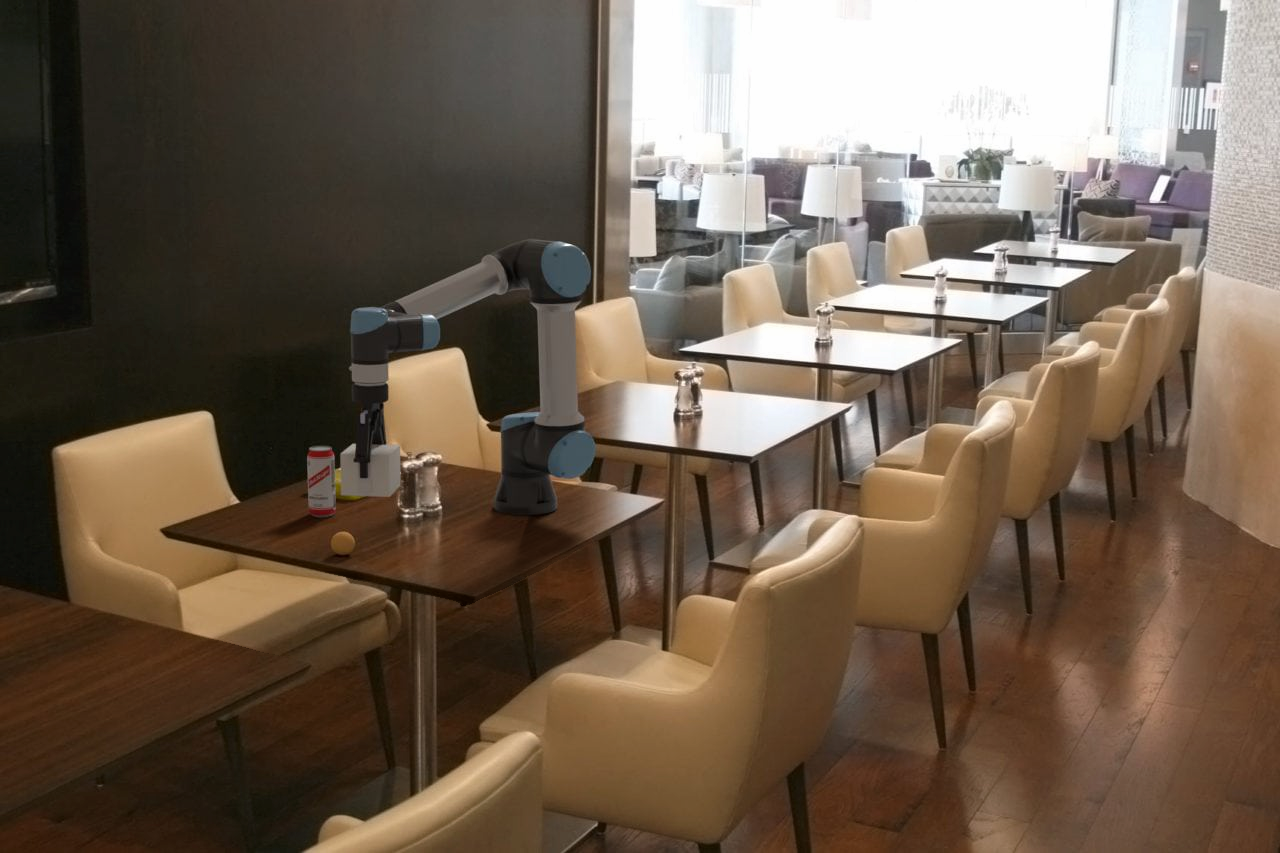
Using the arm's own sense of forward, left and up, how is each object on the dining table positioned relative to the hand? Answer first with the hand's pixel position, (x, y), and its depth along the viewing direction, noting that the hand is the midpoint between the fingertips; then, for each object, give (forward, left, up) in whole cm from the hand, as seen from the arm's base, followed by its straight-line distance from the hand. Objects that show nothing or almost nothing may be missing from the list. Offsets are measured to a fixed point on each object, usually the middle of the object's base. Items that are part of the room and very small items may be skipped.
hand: (371, 486), depth 315 cm
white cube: (0, 0, -1) cm, 1 cm away
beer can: (+20, -31, -15) cm, 40 cm away
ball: (+6, 0, -13) cm, 14 cm away
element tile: (+21, -55, -16) cm, 61 cm away
